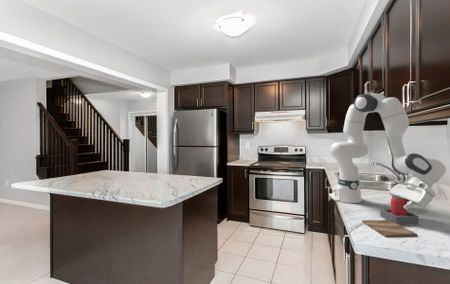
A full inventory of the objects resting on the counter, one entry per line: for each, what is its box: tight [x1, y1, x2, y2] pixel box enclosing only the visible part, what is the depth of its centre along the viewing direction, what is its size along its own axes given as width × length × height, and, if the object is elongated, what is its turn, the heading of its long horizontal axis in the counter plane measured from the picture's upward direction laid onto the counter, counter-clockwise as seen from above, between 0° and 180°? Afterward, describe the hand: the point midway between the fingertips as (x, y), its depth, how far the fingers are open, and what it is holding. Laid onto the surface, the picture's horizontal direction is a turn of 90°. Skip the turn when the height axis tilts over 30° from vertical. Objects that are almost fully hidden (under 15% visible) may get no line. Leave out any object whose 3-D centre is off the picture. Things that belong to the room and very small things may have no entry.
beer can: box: [390, 196, 408, 216], centre depth 115 cm, size 7×7×12 cm
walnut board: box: [361, 219, 418, 238], centre depth 105 cm, size 16×14×1 cm
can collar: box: [379, 208, 420, 226], centre depth 115 cm, size 11×11×4 cm
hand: (397, 205), depth 115 cm, fingers closed on beer can, 7 cm apart
